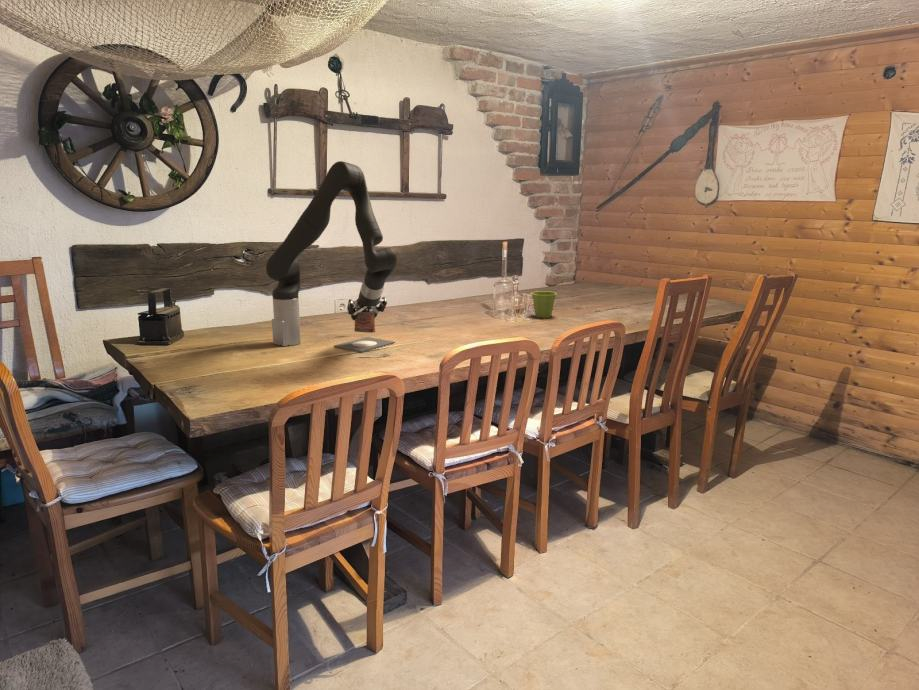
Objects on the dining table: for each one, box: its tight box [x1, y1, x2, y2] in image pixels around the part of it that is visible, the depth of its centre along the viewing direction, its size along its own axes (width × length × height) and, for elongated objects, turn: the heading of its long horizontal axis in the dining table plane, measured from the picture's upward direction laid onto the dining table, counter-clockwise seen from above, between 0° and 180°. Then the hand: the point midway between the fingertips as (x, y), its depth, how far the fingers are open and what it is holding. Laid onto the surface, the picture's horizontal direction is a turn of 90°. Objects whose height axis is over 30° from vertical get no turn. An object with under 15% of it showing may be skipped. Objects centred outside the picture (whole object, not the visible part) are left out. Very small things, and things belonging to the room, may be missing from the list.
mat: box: [333, 336, 396, 354], centre depth 233 cm, size 18×14×1 cm
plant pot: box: [530, 290, 558, 319], centre depth 288 cm, size 12×12×11 cm
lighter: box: [353, 309, 376, 334], centre depth 231 cm, size 8×3×10 cm, turn 75°
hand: (363, 317), depth 232 cm, fingers closed on lighter, 7 cm apart
